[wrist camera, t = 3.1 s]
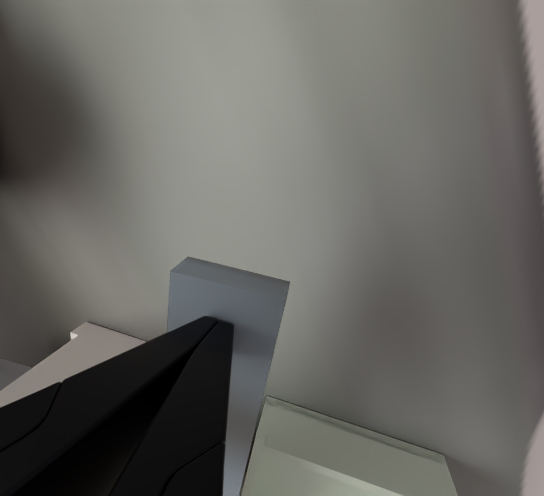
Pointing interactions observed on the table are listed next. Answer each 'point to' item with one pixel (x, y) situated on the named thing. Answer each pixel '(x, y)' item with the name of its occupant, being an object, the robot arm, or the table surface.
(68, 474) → the robot arm
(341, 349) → the table surface
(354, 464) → the tray
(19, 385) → the stand
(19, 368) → the lever
